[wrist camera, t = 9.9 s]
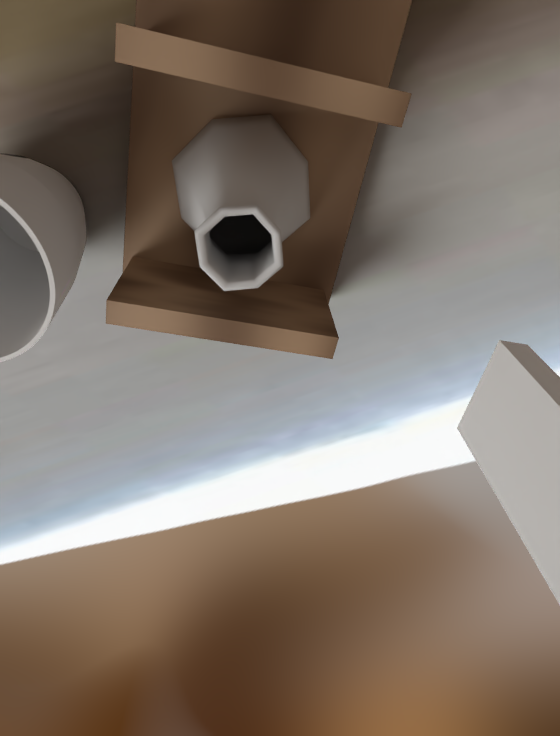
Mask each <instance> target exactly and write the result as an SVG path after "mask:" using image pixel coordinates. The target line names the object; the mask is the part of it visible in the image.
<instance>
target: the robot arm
mask: <svg viewBox="0 0 560 736" xmlns="http://www.w3.org/2000/svg"><path fill="white" fill-rule="evenodd" d="M457 429H458V430H459V432H460V434H461V436H462V437H463V439H464V441H465V442H466V444H467V446H468V448H469V449H470V451H471V453H472V455H473V456H474V458H475V460H476V461H477V463H478V465H479V467H480V468H481V470H482V472H483V474H484V475H485V477H486V479H487V480H488V482H489V484H490V486H491V487H492V489H493V491H494V493H495V494H496V496H497V498H498V499H499V501H500V503H501V505H502V506H503V508H504V510H505V512H506V513H507V515H508V517H509V518H510V520H511V522H512V524H513V525H514V527H515V529H516V530H517V532H518V534H519V536H520V537H521V539H522V541H523V543H524V544H525V546H526V548H527V549H528V551H529V553H530V555H531V556H532V558H533V560H534V561H535V563H536V565H537V567H538V568H539V570H540V572H541V574H542V575H543V577H544V579H545V581H546V582H547V584H548V586H549V587H550V589H551V591H552V593H553V594H554V596H555V598H556V600H557V601H558V603H559V605H560V377H559V376H558V375H557V374H556V373H555V372H554V371H553V370H552V369H551V368H550V367H549V366H548V365H547V364H546V363H545V362H544V361H543V360H542V359H541V358H540V357H539V356H538V355H537V354H536V353H535V352H534V351H533V350H532V349H531V348H530V347H529V346H528V345H525V344H519V343H513V342H507V341H501V340H499V342H498V344H497V346H496V348H495V350H494V352H493V354H492V356H491V359H490V361H489V363H488V365H487V367H486V369H485V371H484V373H483V375H482V377H481V379H480V381H479V384H478V386H477V388H476V390H475V392H474V394H473V396H472V398H471V400H470V402H469V404H468V406H467V409H466V411H465V413H464V415H463V417H462V419H461V421H460V423H459V425H458V427H457Z"/></svg>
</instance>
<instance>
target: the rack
mask: <svg viewBox="0 0 560 736" xmlns="http://www.w3.org/2000/svg"><path fill="white" fill-rule="evenodd" d="M411 3H412V0H136V18H135V27H133V26H129V25H125V24H121V23H116V42H115V62H119V63H123V64H127V65H132V66H133V78H132V98H131V118H130V138H129V158H128V178H127V197H126V217H125V237H124V257H123V274H122V275H121V277H120V279H119V280H118V282H117V284H116V285H115V287H114V289H113V290H112V292H111V294H110V295H109V297H108V299H107V305H106V324H113V325H119V326H125V327H132V328H138V329H145V330H151V331H157V332H164V333H170V334H177V335H183V336H189V337H196V338H202V339H209V340H215V341H221V342H228V343H234V344H240V345H247V346H253V347H260V348H266V349H272V350H279V351H285V352H292V353H298V354H304V355H311V356H317V357H324V358H330V359H333V355H334V352H335V349H336V345H337V342H338V339H339V337H338V334H337V331H336V328H335V324H334V321H333V318H332V315H331V312H330V309H329V305H328V304H329V300H330V297H331V293H332V289H333V286H334V282H335V278H336V275H337V271H338V268H339V264H340V260H341V257H342V253H343V249H344V246H345V242H346V239H347V235H348V231H349V228H350V224H351V220H352V217H353V213H354V210H355V206H356V202H357V199H358V195H359V192H360V188H361V184H362V181H363V177H364V173H365V170H366V166H367V163H368V159H369V155H370V152H371V148H372V144H373V141H374V137H375V134H376V130H377V126H378V123H384V124H388V125H392V126H397V127H402V124H403V121H404V117H405V114H406V111H407V107H408V104H409V101H410V97H411V93H407V92H402V91H398V90H394V89H390V88H388V86H389V83H390V79H391V76H392V72H393V68H394V65H395V61H396V57H397V54H398V50H399V47H400V43H401V39H402V36H403V32H404V28H405V25H406V21H407V18H408V14H409V10H410V7H411ZM259 115H272V116H273V118H274V119H275V120H276V121H277V123H278V124H279V125H280V126H281V128H282V129H283V130H284V132H285V133H286V134H287V135H288V137H289V138H290V139H291V141H292V142H293V143H294V144H295V146H296V147H297V148H298V149H299V151H300V152H301V153H302V155H303V156H304V157H305V158H306V160H307V161H308V172H309V199H310V219H309V220H307V221H306V222H305V223H304V224H303V225H302V226H300V227H299V228H298V229H297V230H296V231H295V232H294V233H292V234H291V235H290V236H289V237H288V238H287V239H285V240H284V241H283V242H282V252H283V267H282V268H281V269H280V270H279V271H278V272H276V273H275V274H274V275H273V276H272V277H270V278H269V279H268V280H267V281H266V282H264V283H263V284H262V285H261V286H260V287H259V288H254V289H242V290H230V291H224V290H223V289H222V288H221V287H220V286H219V285H218V284H217V283H216V282H215V281H214V280H212V279H211V278H210V277H209V276H208V275H207V274H206V273H205V272H204V271H203V270H202V269H201V268H200V265H199V259H198V252H197V246H196V240H195V233H194V230H193V229H192V228H191V227H190V226H189V225H188V224H187V223H186V222H185V221H184V220H183V219H182V218H181V213H180V208H179V202H178V196H177V190H176V184H175V178H174V172H173V166H172V160H173V159H174V158H175V157H176V156H177V155H178V154H179V153H180V152H181V151H182V150H183V149H184V148H185V147H186V146H187V144H188V143H189V142H190V141H191V140H192V139H193V138H194V137H195V136H196V135H197V134H198V133H199V132H200V131H201V130H202V129H203V128H204V127H205V126H206V125H207V124H208V123H209V122H210V121H211V120H212V119H221V118H234V117H246V116H259Z"/></svg>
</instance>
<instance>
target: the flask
mask: <svg viewBox="0 0 560 736" xmlns="http://www.w3.org/2000/svg"><path fill="white" fill-rule="evenodd" d="M172 166H173V172H174V178H175V184H176V190H177V196H178V202H179V208H180V213H181V218H182V219H183V220H184V221H185V222H186V223H187V224H188V225H189V226H190V227H191V228H192V229H193V230H194V233H195V240H196V246H197V252H198V259H199V265H200V268H201V269H202V270H203V271H204V272H205V273H206V274H207V275H208V276H209V277H210V278H211V279H212V280H214V281H215V282H216V283H217V284H218V285H219V286H220V287H221V288H222V289H223V290H224V291H230V290H242V289H254V288H259V287H260V286H261V285H262V284H263V283H264V282H266V281H267V280H268V279H269V278H270V277H272V276H273V275H274V274H275V273H276V272H278V271H279V270H280V269H281V268H282V267H283V252H282V242H283V241H284V240H285V239H287V238H288V237H289V236H290V235H291V234H292V233H294V232H295V231H296V230H297V229H298V228H299V227H300V226H302V225H303V224H304V223H305V222H306V221H307V220H309V219H310V199H309V172H308V161H307V160H306V158H305V157H304V156H303V155H302V153H301V152H300V151H299V149H298V148H297V147H296V146H295V144H294V143H293V142H292V141H291V139H290V138H289V137H288V135H287V134H286V133H285V132H284V130H283V129H282V128H281V126H280V125H279V124H278V123H277V121H276V120H275V119H274V118H273V116H272V115H259V116H246V117H234V118H221V119H212V120H211V121H210V122H209V123H208V124H207V125H206V126H205V127H204V128H203V129H202V130H201V131H200V132H199V133H198V134H197V135H196V136H195V137H194V138H193V139H192V140H191V141H190V142H189V143H188V144H187V146H186V147H185V148H184V149H183V150H182V151H181V152H180V153H179V154H178V155H177V156H176V157H175V158H174V159H173V160H172Z"/></svg>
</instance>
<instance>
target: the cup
mask: <svg viewBox="0 0 560 736" xmlns="http://www.w3.org/2000/svg"><path fill="white" fill-rule="evenodd" d="M86 236H87V231H86V221H85V212H84V207H83V203H82V201H81V198H80V196H79V194H78V192H77V191H76V189H75V188H74V186H73V185H72V184H71V183H70V182H69V181H68V180H67V179H66V178H65V177H64V176H63V175H62V174H61V173H59V172H58V171H56V170H54V169H53V168H51V167H49V166H46V165H44V164H41V163H39V162H36V161H34V160H31V159H29V158H26V157H22V156H18V155H13V154H0V362H3V361H6V360H9V359H12V358H14V357H17V356H19V355H20V354H22V353H24V352H25V351H27V350H28V349H30V348H31V347H32V346H33V345H34V344H35V343H36V342H37V341H38V340H39V339H40V338H41V337H42V335H43V334H44V333H45V331H46V329H47V328H48V326H49V324H50V323H51V321H52V319H53V318H54V316H55V314H56V312H57V311H58V309H59V307H60V306H61V304H62V302H63V301H64V299H65V297H66V296H67V294H68V292H69V290H70V289H71V287H72V285H73V283H74V280H75V278H76V275H77V271H78V268H79V265H80V261H81V258H82V255H83V252H84V248H85V244H86Z"/></svg>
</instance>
